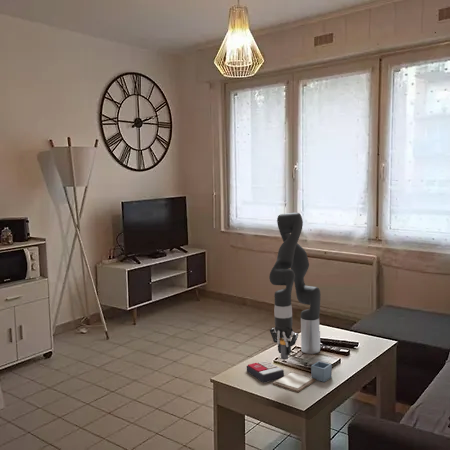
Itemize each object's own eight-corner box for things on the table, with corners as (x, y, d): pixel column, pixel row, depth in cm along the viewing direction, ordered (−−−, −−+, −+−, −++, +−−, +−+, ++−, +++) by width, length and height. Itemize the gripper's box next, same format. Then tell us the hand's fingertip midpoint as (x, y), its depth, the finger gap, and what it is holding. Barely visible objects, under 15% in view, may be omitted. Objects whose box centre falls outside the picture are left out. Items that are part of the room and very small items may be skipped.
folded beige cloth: (290, 373, 226) (290, 370, 226) (315, 380, 217) (315, 378, 217) (272, 384, 215) (272, 381, 215) (298, 392, 207) (298, 389, 207)
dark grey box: (266, 359, 235) (284, 368, 221) (266, 368, 235) (284, 378, 222) (246, 364, 230) (262, 373, 217) (246, 373, 230) (263, 383, 217)
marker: (283, 355, 217) (282, 338, 216) (290, 357, 215) (289, 339, 214) (279, 358, 214) (278, 340, 213) (285, 360, 212) (285, 342, 211)
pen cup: (318, 373, 224) (318, 361, 224) (331, 377, 220) (331, 364, 219) (311, 378, 219) (311, 365, 219) (324, 382, 215) (324, 369, 215)
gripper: (302, 315, 210) (303, 354, 213) (274, 309, 220) (276, 347, 222) (292, 320, 205) (293, 360, 207) (264, 314, 214) (266, 352, 216)
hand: (284, 353), depth 214 cm, fingers closed on marker, 3 cm apart
